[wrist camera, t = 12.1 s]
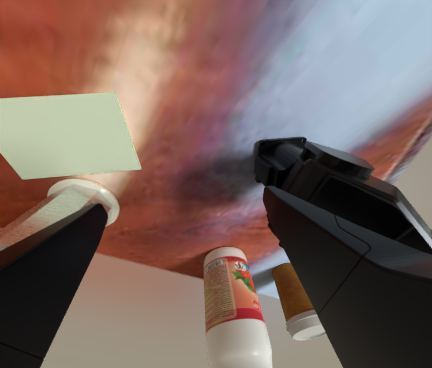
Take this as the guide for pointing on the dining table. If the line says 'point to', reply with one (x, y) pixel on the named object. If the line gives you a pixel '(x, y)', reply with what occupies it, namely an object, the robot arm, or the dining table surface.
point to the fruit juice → (233, 313)
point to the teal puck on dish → (92, 185)
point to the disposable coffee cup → (296, 305)
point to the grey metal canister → (52, 212)
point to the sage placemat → (66, 135)
